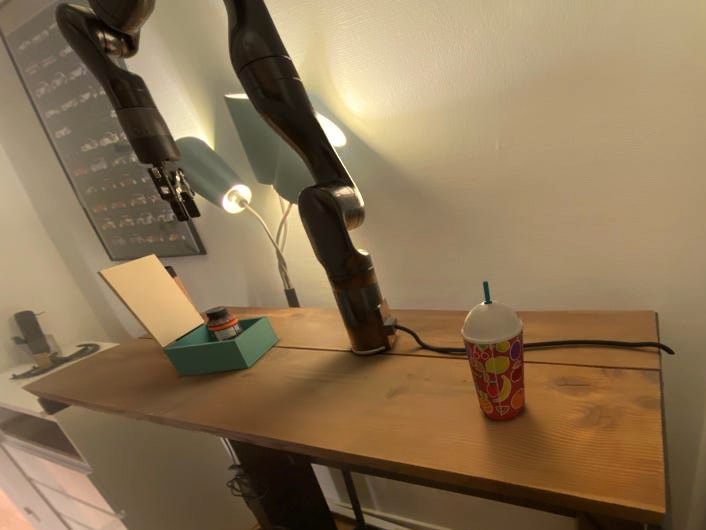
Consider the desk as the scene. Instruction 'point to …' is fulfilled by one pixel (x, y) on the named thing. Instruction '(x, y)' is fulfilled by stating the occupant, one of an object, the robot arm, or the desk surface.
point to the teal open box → (222, 348)
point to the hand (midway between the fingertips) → (191, 219)
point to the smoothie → (495, 356)
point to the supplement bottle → (223, 324)
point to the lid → (152, 298)
